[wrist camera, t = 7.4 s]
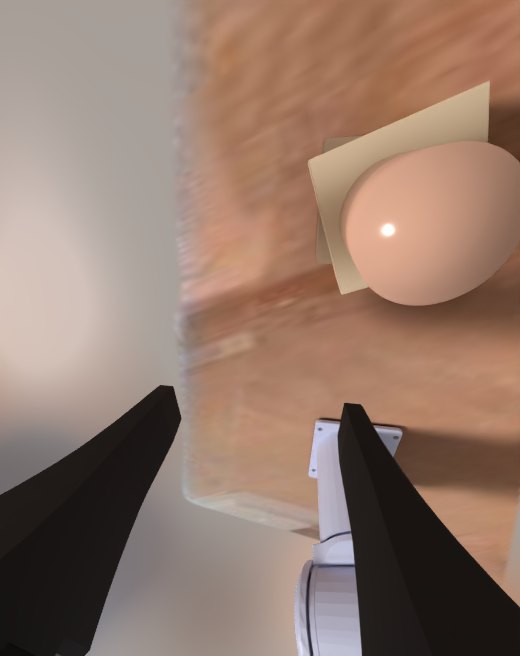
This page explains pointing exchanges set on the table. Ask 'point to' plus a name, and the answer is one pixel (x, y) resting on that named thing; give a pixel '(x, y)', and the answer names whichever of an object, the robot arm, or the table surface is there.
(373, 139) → the tower top
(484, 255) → the tan cylinder
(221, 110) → the table surface
